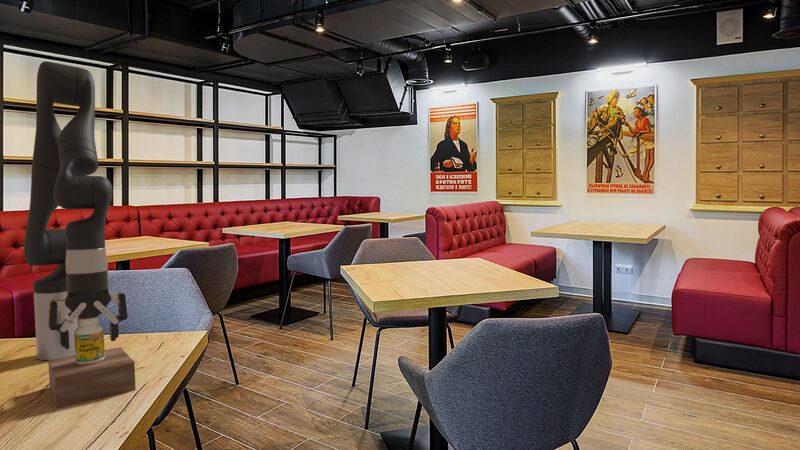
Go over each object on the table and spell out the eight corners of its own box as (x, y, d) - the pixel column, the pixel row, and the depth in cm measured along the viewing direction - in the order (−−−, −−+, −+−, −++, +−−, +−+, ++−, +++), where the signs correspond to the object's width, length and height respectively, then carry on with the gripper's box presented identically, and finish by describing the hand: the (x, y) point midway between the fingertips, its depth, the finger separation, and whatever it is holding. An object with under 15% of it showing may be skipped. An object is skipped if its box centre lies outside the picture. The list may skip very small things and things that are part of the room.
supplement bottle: (104, 355, 112) (102, 313, 111) (105, 362, 107) (103, 317, 107) (75, 360, 109) (73, 316, 108) (75, 367, 104) (73, 321, 104)
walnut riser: (49, 387, 109) (48, 360, 109) (121, 372, 118) (120, 347, 118) (56, 407, 98) (55, 377, 98) (135, 389, 107) (134, 362, 107)
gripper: (120, 264, 114) (123, 334, 115) (44, 271, 105) (48, 347, 106) (128, 268, 108) (131, 341, 109) (48, 275, 99) (52, 355, 100)
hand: (90, 344), depth 108 cm, fingers open, 8 cm apart
